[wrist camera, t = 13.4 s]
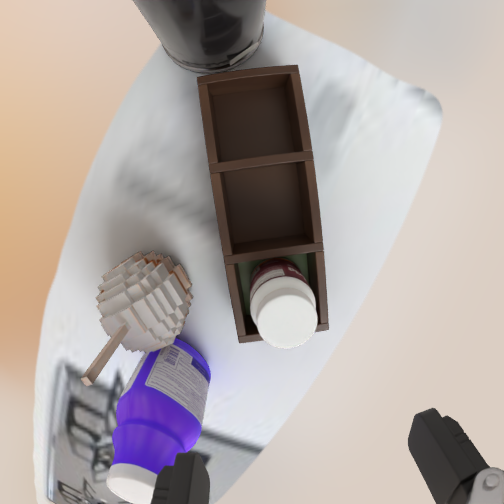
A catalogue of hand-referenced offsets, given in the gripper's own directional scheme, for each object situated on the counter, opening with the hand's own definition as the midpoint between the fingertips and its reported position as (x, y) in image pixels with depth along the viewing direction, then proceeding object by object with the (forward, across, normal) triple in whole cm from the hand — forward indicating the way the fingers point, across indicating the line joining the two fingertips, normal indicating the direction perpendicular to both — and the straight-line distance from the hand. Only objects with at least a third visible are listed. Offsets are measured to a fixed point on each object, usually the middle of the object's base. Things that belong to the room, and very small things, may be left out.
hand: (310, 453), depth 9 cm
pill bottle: (+19, 0, 0) cm, 19 cm away
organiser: (+20, 0, -7) cm, 21 cm away
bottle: (+20, +11, +8) cm, 24 cm away
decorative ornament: (+20, +11, 0) cm, 23 cm away
